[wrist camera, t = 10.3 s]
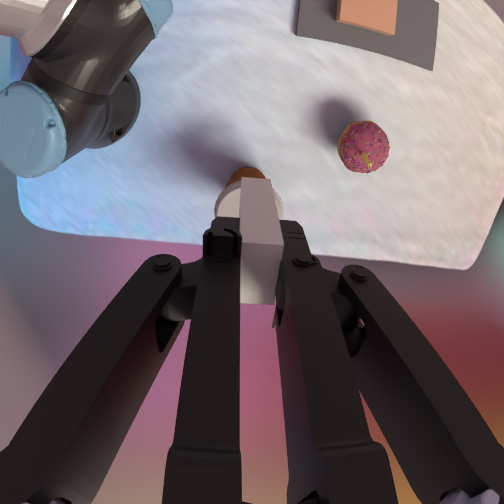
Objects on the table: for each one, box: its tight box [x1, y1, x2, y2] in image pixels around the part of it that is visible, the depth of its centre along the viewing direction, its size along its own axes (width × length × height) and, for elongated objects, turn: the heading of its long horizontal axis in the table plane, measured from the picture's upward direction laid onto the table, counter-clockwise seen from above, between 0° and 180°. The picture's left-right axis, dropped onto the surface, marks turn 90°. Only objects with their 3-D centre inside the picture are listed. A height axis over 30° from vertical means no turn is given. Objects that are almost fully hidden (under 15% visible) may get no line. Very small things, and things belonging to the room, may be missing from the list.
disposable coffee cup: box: [214, 167, 283, 220], centre depth 47 cm, size 10×10×12 cm
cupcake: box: [338, 121, 390, 173], centre depth 43 cm, size 9×8×12 cm
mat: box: [296, 0, 439, 71], centre depth 35 cm, size 24×14×1 cm, turn 85°
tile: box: [336, 0, 398, 36], centre depth 33 cm, size 2×7×9 cm
